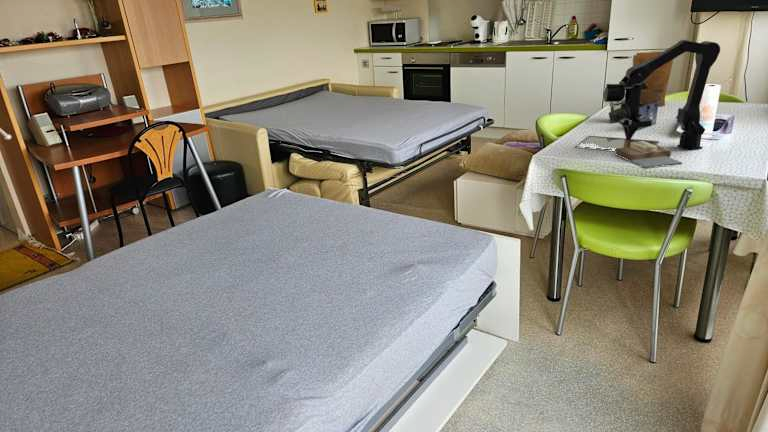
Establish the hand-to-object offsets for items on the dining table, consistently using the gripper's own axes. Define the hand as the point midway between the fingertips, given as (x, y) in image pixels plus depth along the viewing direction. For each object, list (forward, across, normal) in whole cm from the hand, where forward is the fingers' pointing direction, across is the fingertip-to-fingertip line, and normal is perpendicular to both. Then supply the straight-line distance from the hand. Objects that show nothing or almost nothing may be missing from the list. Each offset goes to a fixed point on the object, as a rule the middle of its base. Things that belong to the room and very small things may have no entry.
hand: (628, 140), depth 204 cm
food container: (+4, -45, +23) cm, 51 cm away
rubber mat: (+4, +20, -1) cm, 20 cm away
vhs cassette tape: (+4, -29, +26) cm, 39 cm away
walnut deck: (+4, +10, 0) cm, 11 cm away
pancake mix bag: (+4, -70, +56) cm, 90 cm away
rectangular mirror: (+4, -7, 0) cm, 8 cm away
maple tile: (+1, +10, 0) cm, 10 cm away
